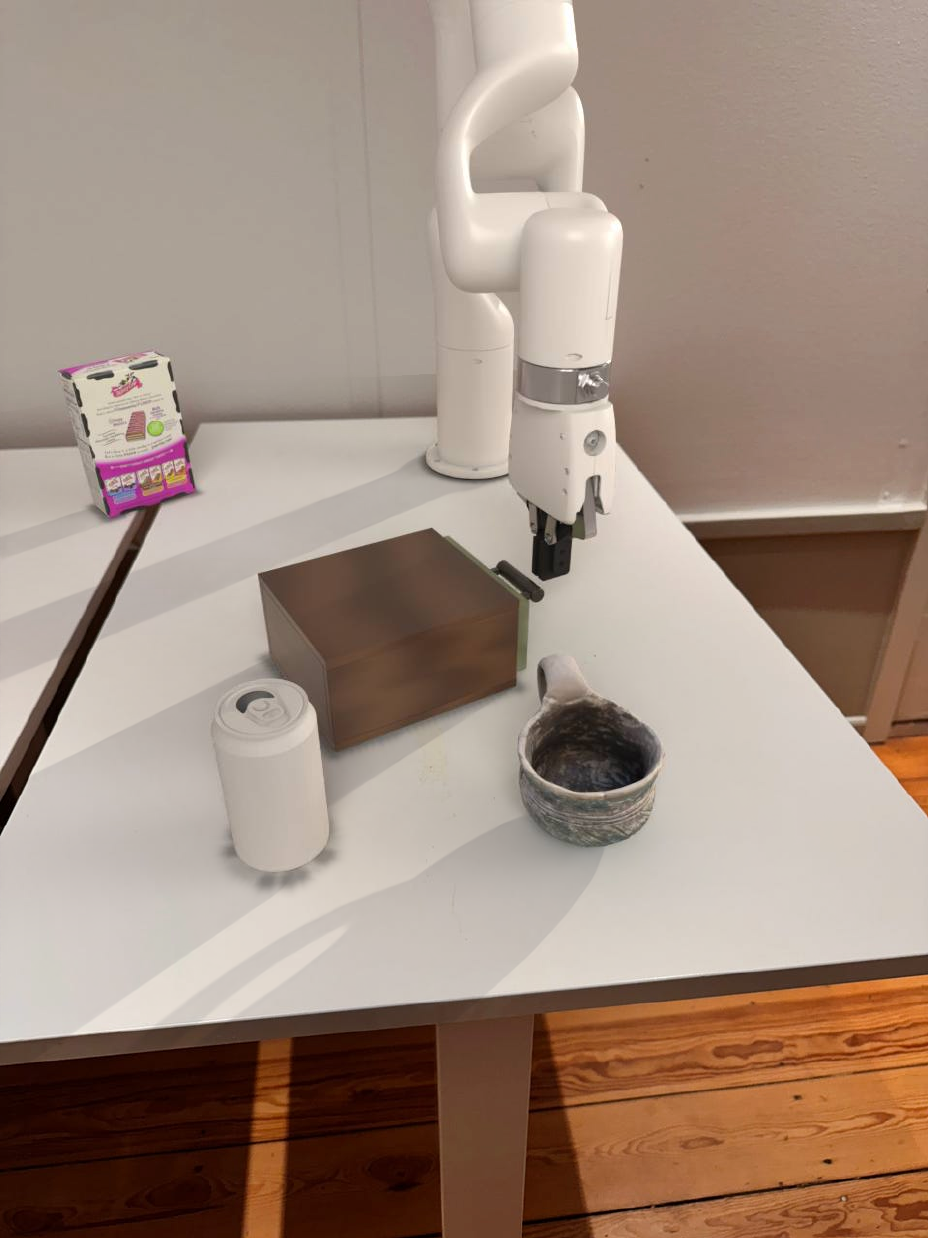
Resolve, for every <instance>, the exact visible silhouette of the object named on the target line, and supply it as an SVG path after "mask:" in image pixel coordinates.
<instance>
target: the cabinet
mask: <svg viewBox="0 0 928 1238" xmlns="http://www.w3.org/2000/svg"><path fill="white" fill-rule="evenodd" d="M444 537H445V536H443V535H441V533H439V532H438V531H437V530H436V529H434V528H433V527H428V528H425V529H421V530H417V531H413V532H409V533H406V534H402V535H398V536H394V537H391V538H387V539H383V540H379V541H376V542H372V543H367V544H365V545H360V546H356V547H353V548H349V549H346V550H341V551H338V552H337V551H336V552H334V553H330V554H326V555H323V556H318V557H314V558H312V559H307V560H304V561H300V562H296V563H293V564H292V563H291V564H288V565H285V566H284V565H283V566H281V567H277V568H273V569H269V570H265V571H261V572H258V573H257V579H258V584H259V586H258V587H259V592H260V597H261V605H262V606H261V607H262V611H263V619H264V625H265V633H266V639H267V643H268V644H267V646H268V652H269V657H270V659H271V661H272V662H273V664H274V665H275V666H276V668H277V669H278V671H279V672H280V674H281V676H282V677H283V678H284V680H287V681H290V682H292V683H295V684H297V685H298V686H300V687H301V688H302V689H303V690H304V691H305V692H306V694H307V696H308V701H309V702H310V703H311V704H312V706H313V707H314V709H315V711H316V716H317V725H318V730H320V732H321V733H322V734H323V736H324V737H325V739H326V740H327V742H328V743H329V745H330V746H331V748H332V750H333V751H334V752H335V753H337V752H339V751H342V750H346V749H348V748H351V747H353V746H356V745H358V744H359V745H360V744H362V743H364V742H367V741H369V740H373V739H375V738H377V737H381V736H383V735H387V734H389V733H392V732H394V731H397V730H400V729H402V728H406V727H408V726H410V725H413V724H416V723H419V722H421V721H424V720H427V719H429V718H433V717H435V716H438V715H441V714H443V713H446V712H448V711H451V710H454V709H457V708H459V707H463V706H465V705H467V704H470V703H473V702H476V701H478V700H481V699H484V698H486V697H490V696H492V695H494V694H497V693H500V692H503V691H505V690H508V689H512V688H514V687H516V686H517V674H518V672H517V649H518V624H519V603H520V600H519V599H518V598H517V597H515V596H514V595H513V594H512V593H511V592H509V591H508V590H507V589H506V588H505V587H503V586H502V585H501V584H500V583H499V582H497V581H496V580H495V579H494V578H492V577H491V576H490V575H489V574H488V573H486V572H485V571H484V570H483V569H482V568H480V567H479V566H478V565H477V564H476V563H474V562H473V561H472V560H471V559H469V558H468V557H467V556H466V555H465V554H463V553H462V552H461V551H460V550H459V549H457V548H456V547H455V546H454V545H453V544H451V543H450V542H449V541H448V540H446V539H445V538H444Z"/></svg>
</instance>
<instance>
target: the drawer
mask: <svg viewBox="0 0 928 1238" xmlns="http://www.w3.org/2000/svg"><path fill="white" fill-rule="evenodd" d="M443 537H444V538H445V539H446V540H448V541H449V542H450V543H451V544H453V545H454V546H455V547H456V548H457V549H459V550H460V551H461V552H462V553H463V554H465V555H466V556H467V557H468V558H469V559H471V560H472V561H473V562H474V563H476V564H477V565H478V566H479V567H480V568H482V569H483V570H484V571H485V572H486V573H488V574H489V575H490V576H491V577H492V578H494V579H495V580H496V581H497V582H499V583H500V584H501V585H502V586H503V587H505V588H506V589H507V590H508V591H509V592H511V593H512V594H513V595H514V596H515V597H517V598H518V599H519V600H520V603H519V624H518V649H517V673H518V672H520V671H523V670H526V669H527V666H528V665H527V661H528V644H529V643H528V642H529V641H528V640H529V639H528V638H529V620H530V601H531V602H533V603H535V604H536V603H539V602H541V601H542V600H543V599H544V597H545V594H546V593H545V589H544V588H542V587H541V586H539V584H537V583H536V582H535V581H533V580H532V579H530V577H528V576H527V575H526V574H524V573H523V572H522V571H521V570H519V569H518V568H516V567H515V566H514V565H513V564H511V563H510V562H509V561H508V560H506V559H502V560H499V561H498V562H497V564H496V566H495V567H491V568H489V567H488V566H487V565H486V564H484V563H483V562H482V561H481V560H480V559H478V558H477V557H476V556H474V554H472V553H471V552H470V551H468V550H467V549H466V548H465V547H464V546H462V545H461V544H460V543H459V542H457V541H456V540H455V539H454V538H453V537H451V536H450V535H446V536H445V535H444V536H443ZM501 577H502V578H501ZM510 584H511V585H510ZM512 586H513V587H512ZM517 590H518V591H519V592H518V591H517Z"/></svg>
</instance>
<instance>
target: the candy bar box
mask: <svg viewBox="0 0 928 1238" xmlns="http://www.w3.org/2000/svg"><path fill="white" fill-rule="evenodd" d="M57 373H58V377H59V380H60V384H61V387H62V388H61V389H62V391H63V395H64V398H65V403H66V406H67V410H68V413H69V418H70V421H71V425H72V428H73V432H74V435H75V439H76V444H77V447H78V451H79V455H80V458H81V461H82V466H83V469H84V472H85V476H86V480H87V483H88V487H89V491H90V495H91V499H92V502H93V505H94V506H95V507H96V509H97V510H99V511H101V512H102V513H103V514H104V515H105V516H106V517H107V518H109V519H112V518H115V517H119V516H122V515H125V514H129V513H131V512H135V511H139V510H141V509H145V508H149V507H152V506H155V505H157V504H158V505H159V504H160V503H161V504H162V503H165V502H167V501H170V500H174V499H176V498H179V497H183V496H186V495H189V494H192V493H195V492H196V491H197V488H196V484H195V483H196V482H195V477H194V473H193V469H192V463H191V458H190V453H189V448H188V443H187V437H186V434H185V428H184V424H183V417H182V413H181V412H182V411H181V408H180V402H179V396H178V393H177V389H176V383H175V379H174V372H173V367H172V363H171V359H170V357H168V356H165V355H163V354H161V353H159V352H157V351H156V350H151V349H150V350H147V351H142V352H138V353H133V354H128V355H122V356H117V357H113V358H109V359H104V360H100V361H99V360H98V361H95V362H91V363H87V364H86V363H85V364H82V365H77V366H72V367H68V368H63V369H58V370H57Z"/></svg>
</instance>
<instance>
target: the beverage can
mask: <svg viewBox="0 0 928 1238" xmlns="http://www.w3.org/2000/svg"><path fill="white" fill-rule="evenodd" d="M213 716H214V718H213V720H212V722H211V726H210V734H211V741H212V745H213V750H214V755H215V759H216V764H217V768H218V774H219V780H220V784H221V789H222V794H223V798H224V803H225V808H226V813H227V818H228V822H229V827H230V833H231V837H232V838H231V839H232V843H233V848H234V850H235V853H236V854H237V857H238V858H239V859H240V861H242V862H243V863H244V864H245V865H247V866H248V867H250V868H252V869H255V870H257V871H260V872H266V873H282V872H288V871H291V870H295V869H298V868H300V867H302V866H305V865H306V864H309V862H312V861H313V860H314V859H315V858H316V857H317V856H318V855H319V854H320V853H321V852H322V851H323V850H324V848H325V847H326V845H327V842H328V840H329V837H330V821H329V813H328V805H327V797H326V796H327V794H326V786H325V778H324V769H323V761H322V760H323V759H322V751H321V742H320V734H319V727H318V725H317V716H316V711H315V709H314V707H313V706H312V704H311V703H310V702H309V701H308V696H307V694H306V692H305V691H304V690H303V689H302V688H301V687H300V686H298V685H297V684H295V683H292V682H290V681H287V680H286V679H282V678H271V677H270V678H259V679H254V680H249V681H246V682H243V683H241V684H238V685H236V686H234V687H232V688H231V689H229V690H228V691H226V692H225V693H224V694H223V695H222V696H221V697H220V698H219V699H218V701H217V702H216V704H215V707H214V709H213Z"/></svg>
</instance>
